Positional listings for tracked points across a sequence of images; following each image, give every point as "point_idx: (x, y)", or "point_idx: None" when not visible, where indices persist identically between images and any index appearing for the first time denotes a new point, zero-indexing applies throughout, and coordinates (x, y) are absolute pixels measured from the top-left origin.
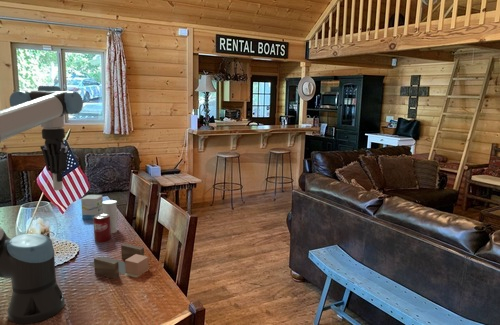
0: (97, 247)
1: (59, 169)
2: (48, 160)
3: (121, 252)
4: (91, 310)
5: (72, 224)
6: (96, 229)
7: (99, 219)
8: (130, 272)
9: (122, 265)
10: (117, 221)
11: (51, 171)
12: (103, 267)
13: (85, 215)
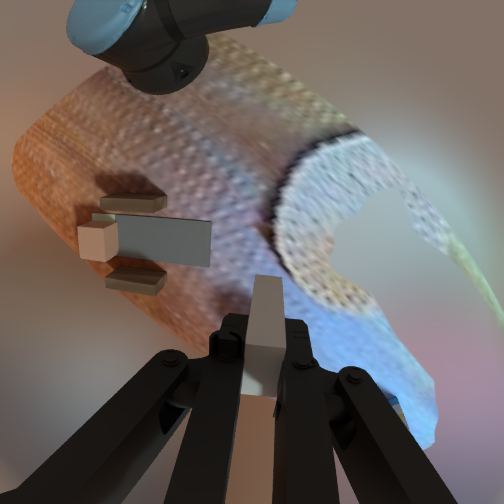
0: None
1: (164, 369)
2: (374, 465)
3: (161, 278)
4: (90, 100)
5: (401, 374)
6: None
7: None
8: (105, 222)
9: (142, 245)
10: None
11: (298, 361)
12: (134, 196)
13: (392, 404)
